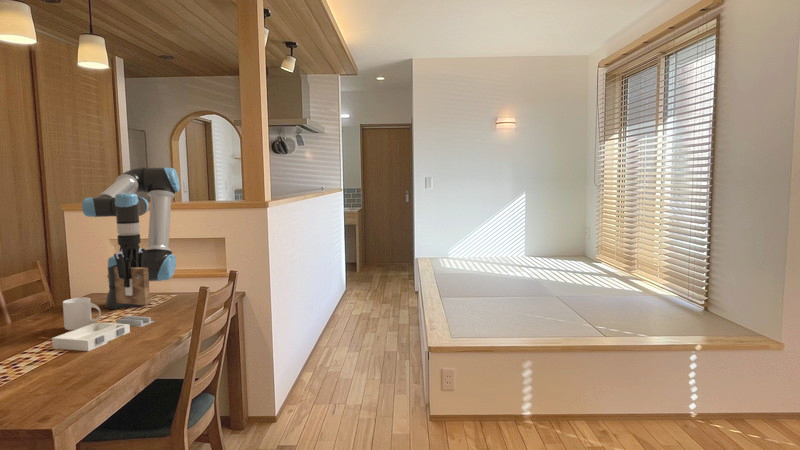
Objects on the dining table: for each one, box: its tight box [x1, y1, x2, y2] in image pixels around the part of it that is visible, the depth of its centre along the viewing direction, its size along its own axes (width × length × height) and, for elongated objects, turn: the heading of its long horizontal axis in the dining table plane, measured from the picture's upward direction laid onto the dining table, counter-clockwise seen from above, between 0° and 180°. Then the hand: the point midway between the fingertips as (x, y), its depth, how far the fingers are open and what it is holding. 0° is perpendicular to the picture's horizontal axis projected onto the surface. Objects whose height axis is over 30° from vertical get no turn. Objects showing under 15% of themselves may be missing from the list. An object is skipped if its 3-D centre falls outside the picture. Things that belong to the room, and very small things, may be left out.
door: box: [114, 267, 151, 306], centre depth 182 cm, size 13×3×14 cm, turn 79°
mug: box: [62, 297, 102, 331], centre depth 179 cm, size 9×12×11 cm
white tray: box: [51, 321, 131, 352], centre depth 164 cm, size 18×14×4 cm
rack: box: [115, 315, 155, 328], centre depth 183 cm, size 7×13×2 cm, turn 79°
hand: (132, 294), depth 182 cm, fingers closed on door, 2 cm apart
